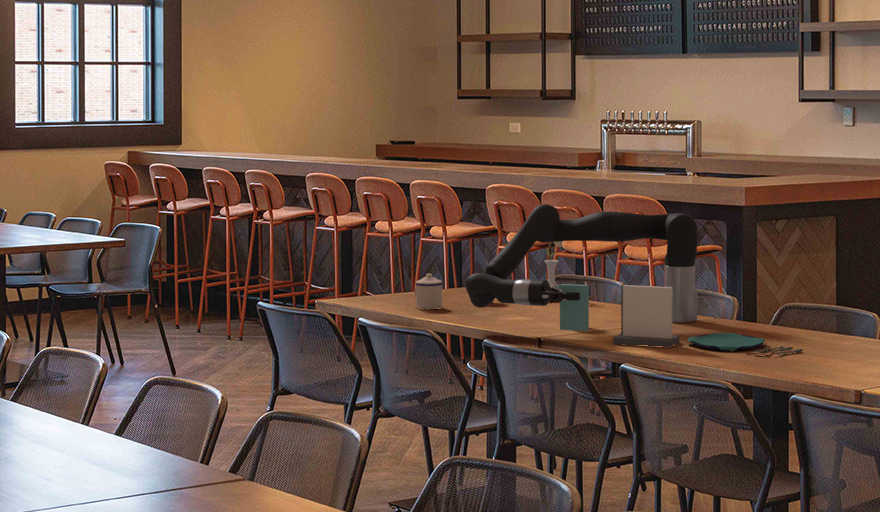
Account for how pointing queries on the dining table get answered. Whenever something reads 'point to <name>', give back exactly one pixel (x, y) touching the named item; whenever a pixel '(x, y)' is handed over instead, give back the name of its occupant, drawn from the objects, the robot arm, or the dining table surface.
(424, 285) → the teacup with lid
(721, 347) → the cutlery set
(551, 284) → the flower in vase
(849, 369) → the dining table surface
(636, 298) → the ticket stand
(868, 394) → the dining table surface
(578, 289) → the teal flat panel
